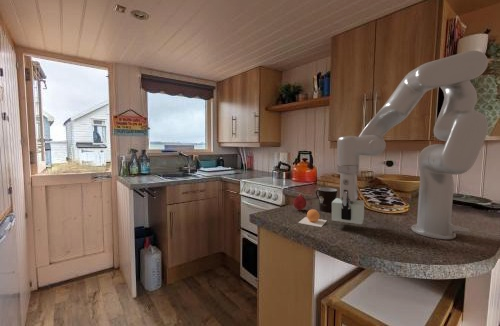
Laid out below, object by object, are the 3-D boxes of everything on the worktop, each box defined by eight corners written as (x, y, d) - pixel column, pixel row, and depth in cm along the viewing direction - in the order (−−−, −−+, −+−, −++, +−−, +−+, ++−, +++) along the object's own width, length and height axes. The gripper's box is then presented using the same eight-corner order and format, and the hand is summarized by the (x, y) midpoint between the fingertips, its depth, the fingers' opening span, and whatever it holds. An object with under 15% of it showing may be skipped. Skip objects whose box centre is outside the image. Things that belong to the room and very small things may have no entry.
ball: (306, 212, 101) (314, 222, 100) (302, 215, 97) (310, 226, 96) (315, 205, 99) (323, 215, 98) (311, 208, 95) (320, 219, 93)
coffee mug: (339, 213, 110) (340, 191, 109) (320, 212, 110) (320, 191, 110) (331, 206, 122) (331, 186, 121) (313, 206, 122) (314, 186, 121)
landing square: (326, 220, 99) (326, 220, 99) (321, 227, 91) (321, 226, 91) (305, 217, 103) (305, 216, 103) (298, 223, 96) (298, 222, 96)
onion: (298, 213, 110) (299, 195, 109) (290, 209, 115) (291, 193, 114) (308, 211, 112) (309, 194, 112) (300, 208, 117) (300, 192, 117)
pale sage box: (364, 218, 91) (364, 200, 91) (361, 224, 85) (361, 205, 84) (335, 214, 97) (335, 198, 96) (331, 220, 90) (331, 202, 89)
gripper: (356, 172, 80) (355, 224, 81) (361, 167, 95) (361, 211, 96) (332, 172, 84) (332, 221, 85) (341, 167, 99) (341, 209, 100)
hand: (348, 216), depth 91 cm, fingers closed on pale sage box, 7 cm apart
